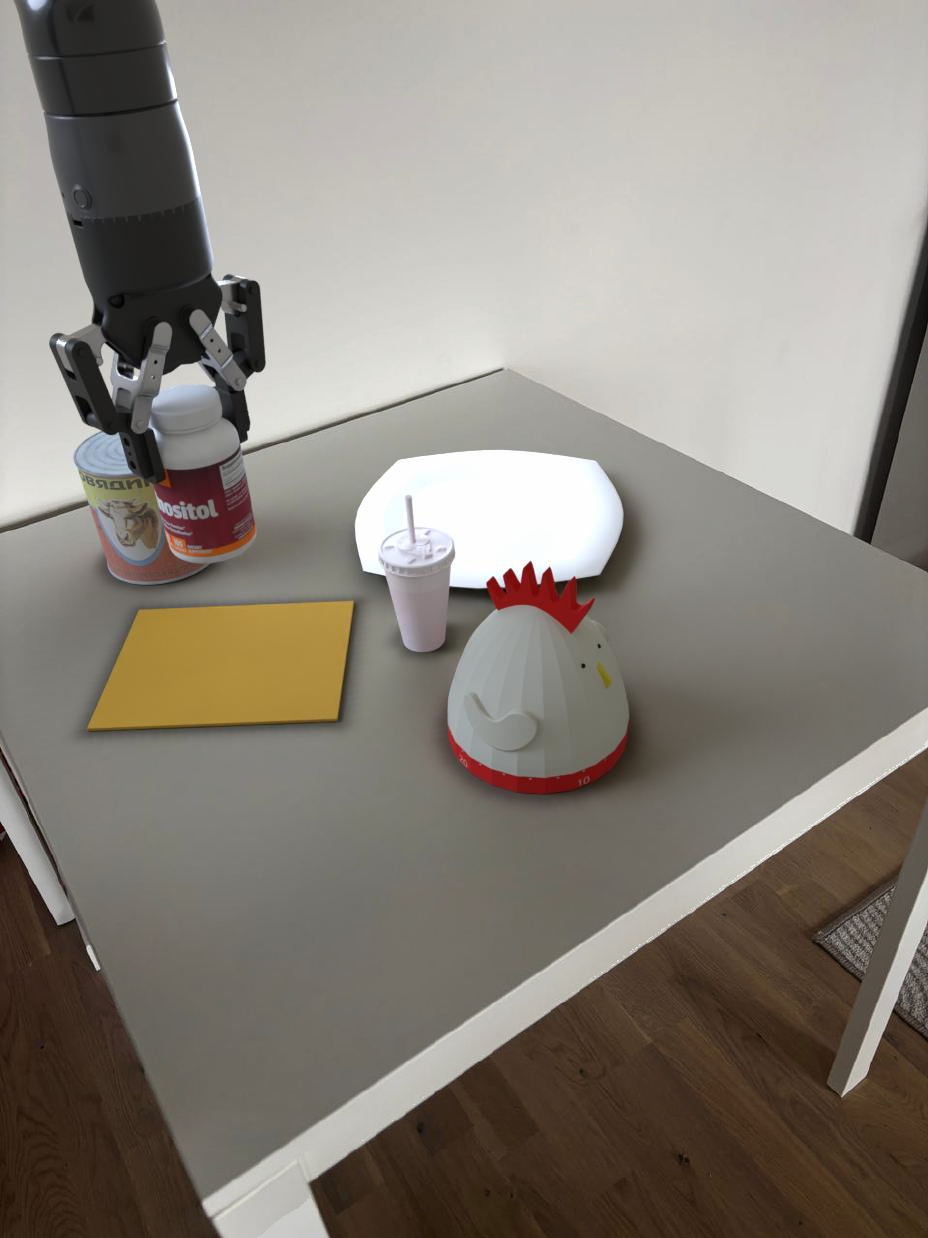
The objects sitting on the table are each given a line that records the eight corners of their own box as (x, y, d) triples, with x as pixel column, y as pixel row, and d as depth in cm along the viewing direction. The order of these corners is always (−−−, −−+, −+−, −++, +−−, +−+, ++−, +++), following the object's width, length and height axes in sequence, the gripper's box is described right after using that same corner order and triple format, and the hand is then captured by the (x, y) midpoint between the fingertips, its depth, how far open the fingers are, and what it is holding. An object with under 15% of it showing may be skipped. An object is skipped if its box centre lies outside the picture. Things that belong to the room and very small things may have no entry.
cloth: (87, 731, 77) (86, 728, 77) (139, 612, 90) (138, 609, 90) (337, 721, 77) (337, 718, 77) (354, 603, 90) (353, 600, 90)
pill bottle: (152, 560, 67) (111, 413, 61) (199, 515, 72) (165, 374, 65) (231, 573, 66) (197, 423, 59) (274, 526, 70) (247, 383, 64)
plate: (380, 464, 111) (379, 448, 110) (618, 465, 109) (619, 449, 107) (333, 601, 90) (331, 584, 89) (627, 607, 87) (629, 589, 86)
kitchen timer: (576, 820, 68) (582, 653, 59) (413, 752, 74) (396, 590, 65) (656, 703, 77) (671, 543, 68) (505, 651, 83) (501, 498, 74)
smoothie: (435, 608, 88) (425, 472, 80) (474, 643, 84) (468, 503, 76) (374, 634, 86) (357, 495, 77) (411, 672, 81) (397, 529, 73)
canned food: (90, 584, 94) (53, 474, 87) (131, 524, 103) (100, 419, 96) (202, 585, 93) (174, 474, 86) (234, 524, 102) (211, 419, 95)
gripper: (195, 160, 61) (243, 408, 71) (-21, 214, 53) (68, 486, 63) (272, 174, 57) (312, 434, 67) (53, 234, 49) (135, 522, 59)
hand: (194, 458), depth 65 cm, fingers closed on pill bottle, 6 cm apart
